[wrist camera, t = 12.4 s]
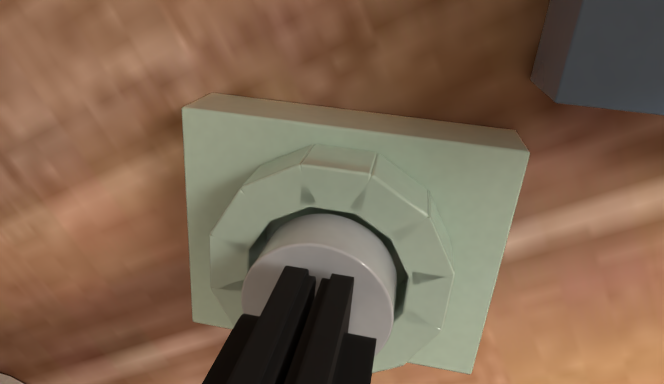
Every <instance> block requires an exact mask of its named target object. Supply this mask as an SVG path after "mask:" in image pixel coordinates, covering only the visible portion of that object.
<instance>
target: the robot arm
mask: <svg viewBox="0 0 664 384" xmlns="http://www.w3.org/2000/svg"><path fill="white" fill-rule="evenodd" d="M315 287H316V277H315V276H310V275H309V270H308V269H305V268H299V267H293V266H287V265H286V266H285V267H284V269H283V271H282V273H281V275H280V277H279V279H278V281H277V283H276V285H275V287H274V289H273V291H272V293H271V295H270V297H269V299H268V301H267V303H266V305H265V307H264V309H263V311H262V313H261V315H260V316H255V315H250V314H245V313H244V314H242V315H241V316H240V318H239V319H238V321H237V322H236V324H235V326H234V328H233V330H232V331H231V333H230V335H229V337H228V338H227V340H226V342H225V344H224V346H223V347H222V349H221V351H220V353H219V354H218V356H217V358H216V360H215V362H214V363H213V365H212V367H211V369H210V371H209V372H208V374H207V376H206V378H205V379H204V381H203V383H202V384H370V383H371V376H372V369H373V362H374V355H375V348H376V341H377V338H371V337H366V336H361V335H356V334H350V333H348V329H349V321H350V312H351V304H352V295H353V287H354V277H351V276H345V275H339V274H334V273H332V274H331V277H330V279H327V278H322V279H321V282H320V285H319V287H318V290H317V293H316V296H315Z"/></svg>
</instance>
